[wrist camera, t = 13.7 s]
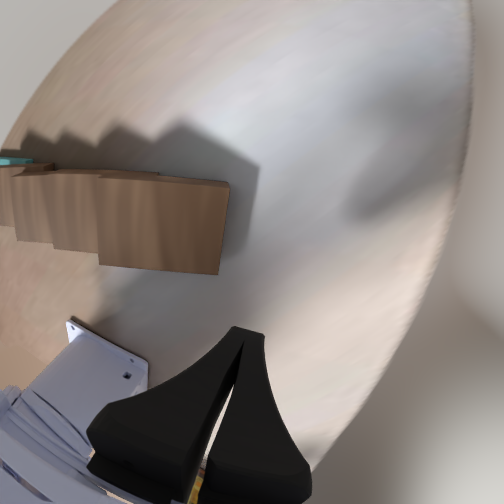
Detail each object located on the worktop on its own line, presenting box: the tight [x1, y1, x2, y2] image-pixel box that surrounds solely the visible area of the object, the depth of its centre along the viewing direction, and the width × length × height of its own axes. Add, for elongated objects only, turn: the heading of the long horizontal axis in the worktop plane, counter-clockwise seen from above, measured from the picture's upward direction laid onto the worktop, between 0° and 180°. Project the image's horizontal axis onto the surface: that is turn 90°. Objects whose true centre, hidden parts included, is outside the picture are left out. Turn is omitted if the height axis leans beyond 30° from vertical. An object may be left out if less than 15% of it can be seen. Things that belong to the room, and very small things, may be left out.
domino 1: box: [97, 173, 230, 275], centre depth 15 cm, size 2×5×7 cm
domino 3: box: [10, 171, 55, 243], centre depth 17 cm, size 2×5×7 cm
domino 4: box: [0, 163, 54, 227], centre depth 18 cm, size 2×5×7 cm
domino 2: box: [49, 169, 159, 253], centre depth 16 cm, size 2×5×7 cm
